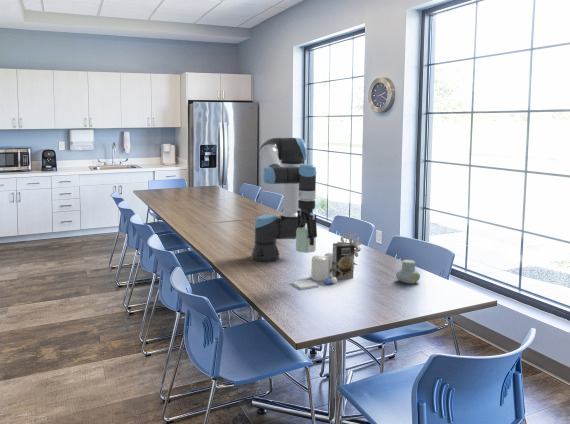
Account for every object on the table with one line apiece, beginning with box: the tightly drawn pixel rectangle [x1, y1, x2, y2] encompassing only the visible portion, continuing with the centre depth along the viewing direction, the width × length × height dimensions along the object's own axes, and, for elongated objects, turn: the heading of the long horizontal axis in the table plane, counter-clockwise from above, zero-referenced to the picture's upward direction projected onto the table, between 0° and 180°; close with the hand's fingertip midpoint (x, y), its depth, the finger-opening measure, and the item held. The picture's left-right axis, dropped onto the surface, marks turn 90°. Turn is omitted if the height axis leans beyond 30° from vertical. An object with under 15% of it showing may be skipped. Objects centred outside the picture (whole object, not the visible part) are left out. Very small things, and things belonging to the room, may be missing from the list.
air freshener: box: [395, 259, 421, 285], centre depth 243 cm, size 11×8×10 cm
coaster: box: [291, 279, 319, 291], centre depth 237 cm, size 9×9×1 cm
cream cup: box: [310, 255, 331, 282], centre depth 247 cm, size 8×8×10 cm
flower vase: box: [323, 232, 363, 271], centre depth 267 cm, size 13×18×25 cm
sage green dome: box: [295, 226, 317, 254], centre depth 233 cm, size 8×8×10 cm
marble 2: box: [330, 276, 338, 285], centre depth 240 cm, size 3×3×3 cm
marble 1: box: [323, 278, 332, 285], centre depth 239 cm, size 3×3×3 cm
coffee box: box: [331, 242, 356, 280], centre depth 250 cm, size 9×6×16 cm
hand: (305, 249), depth 234 cm, fingers closed on sage green dome, 8 cm apart
